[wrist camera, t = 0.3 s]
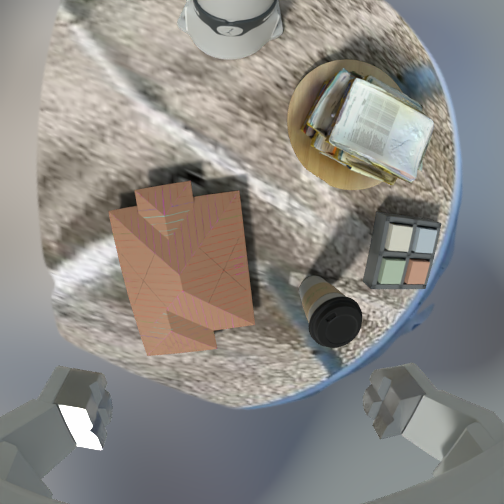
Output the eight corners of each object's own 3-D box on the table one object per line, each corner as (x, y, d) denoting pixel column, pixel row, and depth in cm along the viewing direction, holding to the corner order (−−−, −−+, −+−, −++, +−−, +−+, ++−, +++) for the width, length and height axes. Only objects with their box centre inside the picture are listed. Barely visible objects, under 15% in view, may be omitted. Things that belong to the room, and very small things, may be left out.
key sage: (381, 256, 58) (386, 260, 56) (400, 257, 58) (405, 261, 56) (376, 280, 59) (380, 283, 57) (395, 280, 60) (400, 284, 58)
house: (236, 172, 53) (239, 176, 45) (255, 334, 63) (260, 357, 56) (111, 192, 51) (95, 199, 43) (149, 346, 62) (143, 370, 54)
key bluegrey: (414, 226, 57) (420, 228, 55) (431, 228, 57) (437, 230, 55) (410, 249, 58) (415, 252, 56) (427, 250, 59) (432, 253, 57)
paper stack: (362, 214, 58) (409, 237, 42) (259, 137, 51) (279, 130, 35) (421, 121, 53) (476, 119, 37) (332, 40, 46) (372, 8, 30)
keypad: (376, 211, 58) (386, 215, 54) (430, 219, 60) (441, 223, 56) (362, 281, 62) (371, 289, 58) (415, 281, 64) (425, 288, 60)
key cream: (388, 222, 56) (393, 225, 54) (407, 225, 56) (413, 227, 54) (383, 247, 57) (388, 250, 55) (402, 248, 58) (408, 251, 56)
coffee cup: (303, 260, 59) (330, 294, 45) (342, 276, 61) (375, 310, 47) (282, 302, 61) (302, 345, 47) (321, 314, 63) (348, 356, 49)
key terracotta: (408, 258, 59) (413, 261, 57) (424, 259, 59) (430, 262, 57) (402, 280, 60) (407, 284, 58) (419, 280, 61) (424, 284, 59)
